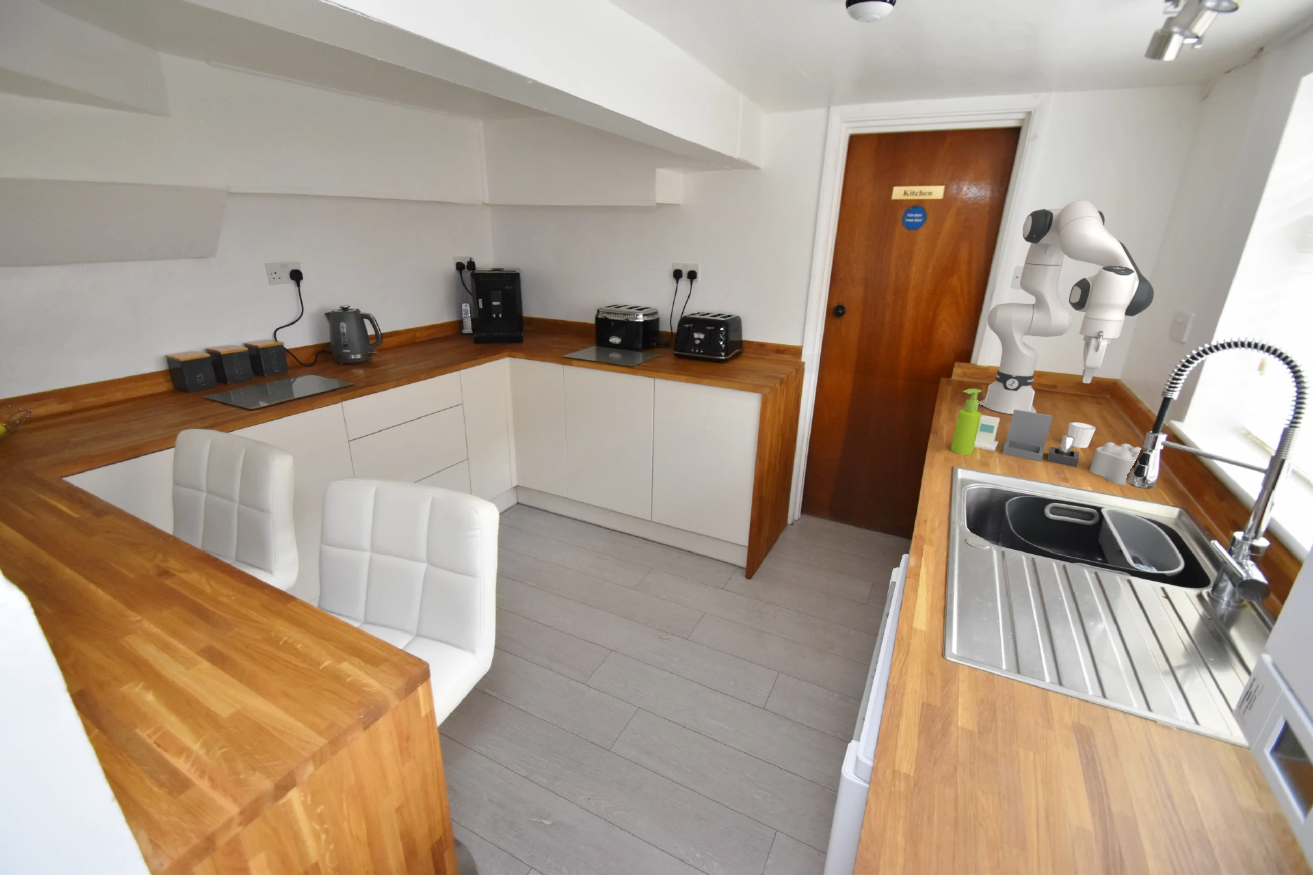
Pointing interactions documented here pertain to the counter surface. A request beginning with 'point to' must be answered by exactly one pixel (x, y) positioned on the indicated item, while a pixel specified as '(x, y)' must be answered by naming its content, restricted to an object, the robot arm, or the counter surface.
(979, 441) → the block
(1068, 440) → the rod
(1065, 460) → the rod bracket
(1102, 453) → the lumpy-topped squat cylinder
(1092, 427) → the white faceted tapered cup
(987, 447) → the plate
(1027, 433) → the grey device stand
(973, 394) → the soap dispenser
